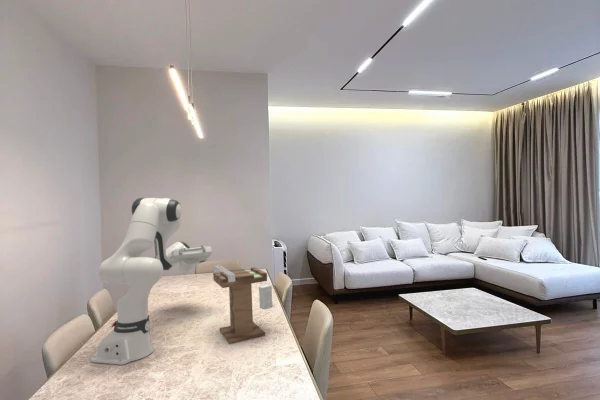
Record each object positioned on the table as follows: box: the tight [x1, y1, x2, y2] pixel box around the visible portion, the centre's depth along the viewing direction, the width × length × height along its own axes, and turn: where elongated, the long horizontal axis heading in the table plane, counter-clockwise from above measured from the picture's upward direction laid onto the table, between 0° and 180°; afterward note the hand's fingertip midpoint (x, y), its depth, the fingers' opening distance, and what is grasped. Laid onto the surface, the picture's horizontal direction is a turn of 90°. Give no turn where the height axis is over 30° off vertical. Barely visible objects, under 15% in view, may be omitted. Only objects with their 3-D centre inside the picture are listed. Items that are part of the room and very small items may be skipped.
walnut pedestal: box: [212, 266, 268, 345], centre depth 152 cm, size 16×20×28 cm
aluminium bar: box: [212, 264, 235, 282], centre depth 154 cm, size 26×3×3 cm, turn 28°
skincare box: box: [258, 284, 273, 310], centre depth 188 cm, size 6×4×12 cm
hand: (193, 247), depth 171 cm, fingers open, 8 cm apart
